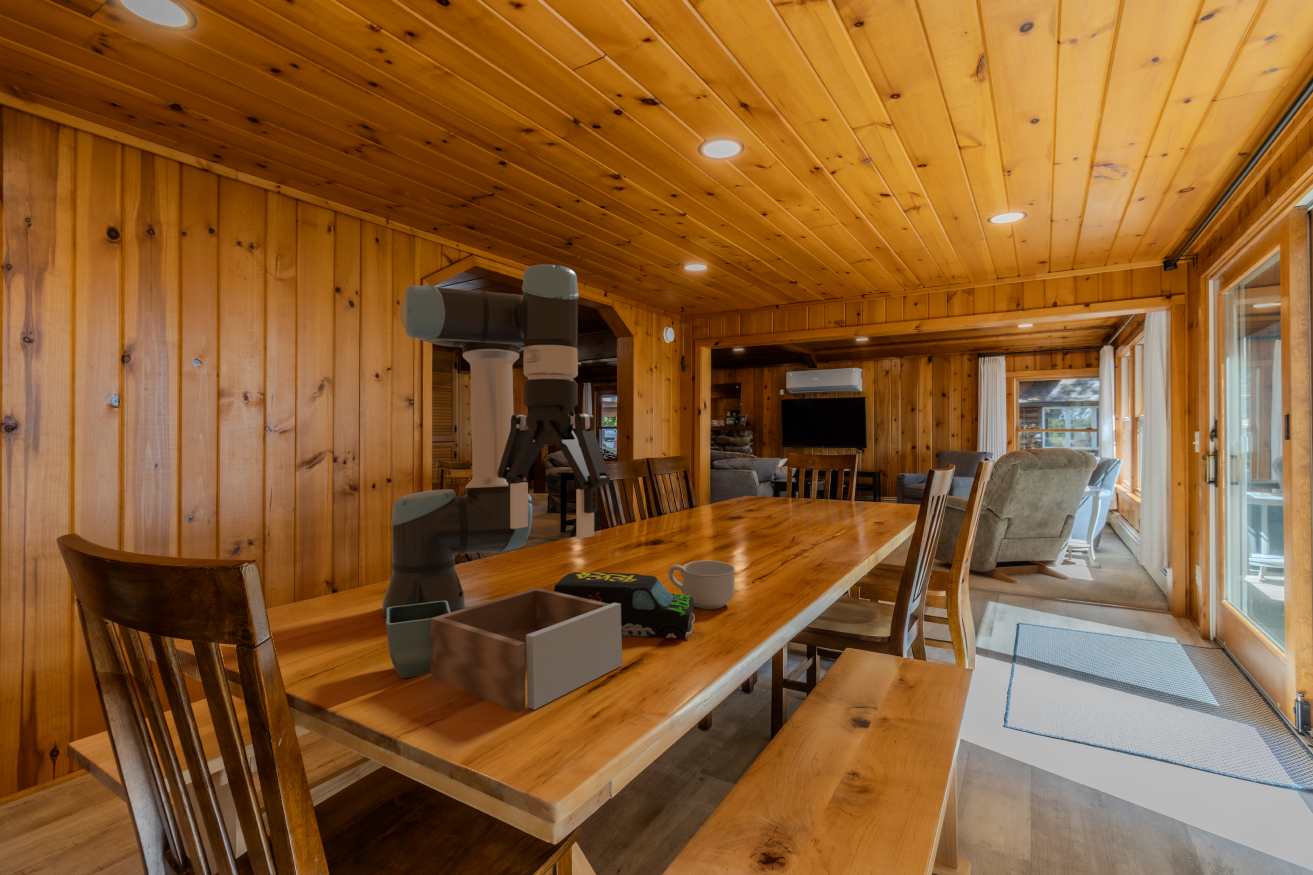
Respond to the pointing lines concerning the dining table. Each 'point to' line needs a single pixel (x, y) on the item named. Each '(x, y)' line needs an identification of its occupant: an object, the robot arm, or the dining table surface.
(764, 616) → the dining table surface
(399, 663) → the flower pot
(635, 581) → the toy van
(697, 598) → the teacup
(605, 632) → the panel
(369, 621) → the dining table surface
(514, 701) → the crate
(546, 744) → the dining table surface
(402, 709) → the dining table surface
